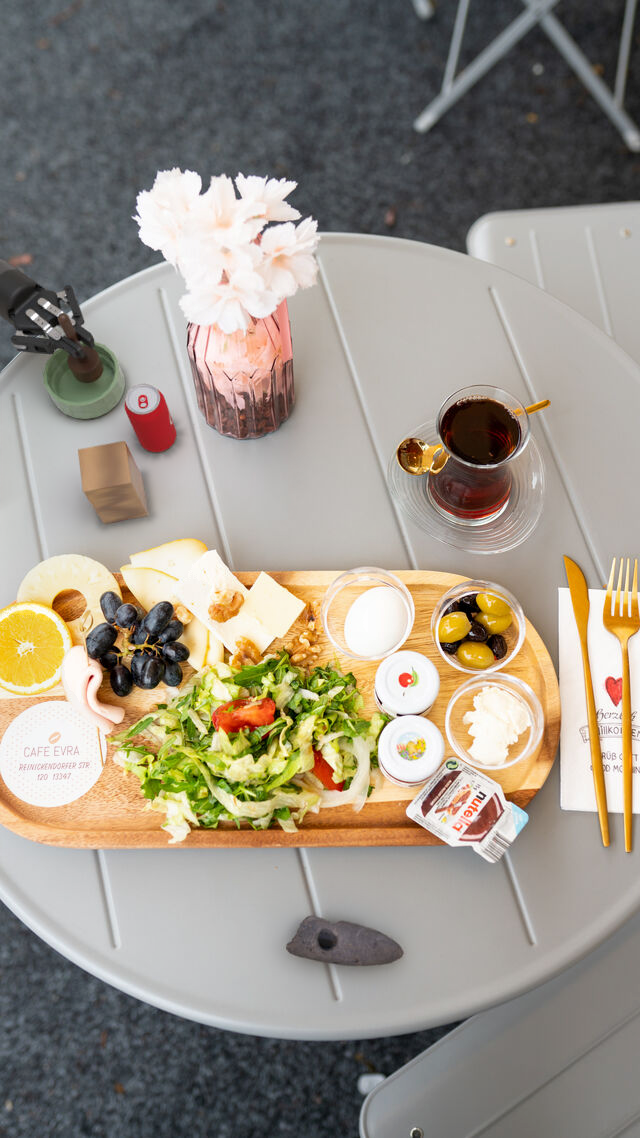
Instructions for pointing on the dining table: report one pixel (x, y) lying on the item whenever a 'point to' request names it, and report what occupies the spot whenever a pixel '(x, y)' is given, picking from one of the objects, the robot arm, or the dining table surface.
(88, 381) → the brown handled round part
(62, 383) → the bowl
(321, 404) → the dining table surface
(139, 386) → the beverage can
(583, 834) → the dining table surface
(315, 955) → the perforated stone tool
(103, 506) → the wooden square block
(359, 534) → the dining table surface
